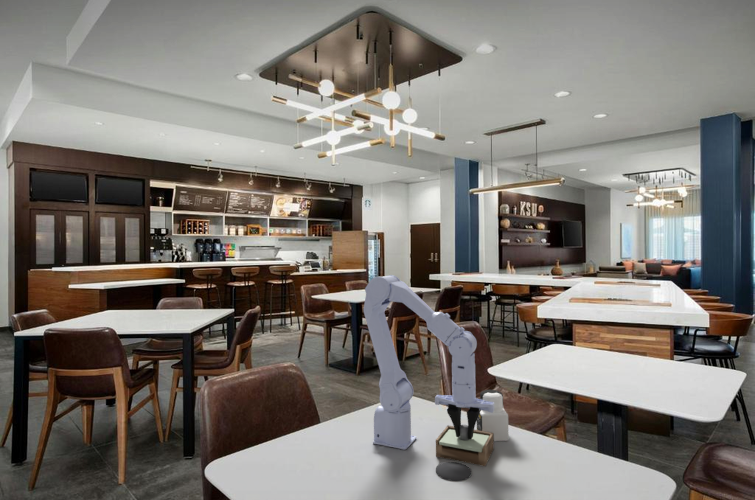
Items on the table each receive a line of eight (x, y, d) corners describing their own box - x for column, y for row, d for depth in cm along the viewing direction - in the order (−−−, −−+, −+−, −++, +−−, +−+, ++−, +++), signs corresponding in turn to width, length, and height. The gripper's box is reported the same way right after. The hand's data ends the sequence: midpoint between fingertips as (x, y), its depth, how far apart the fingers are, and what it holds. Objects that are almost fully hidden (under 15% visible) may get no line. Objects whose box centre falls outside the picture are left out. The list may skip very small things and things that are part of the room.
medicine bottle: (476, 430, 124) (475, 387, 124) (502, 430, 124) (501, 387, 124) (481, 441, 117) (480, 396, 117) (509, 441, 116) (508, 395, 117)
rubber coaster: (430, 476, 99) (430, 474, 99) (441, 460, 106) (441, 459, 106) (466, 483, 95) (466, 481, 95) (475, 467, 103) (475, 465, 103)
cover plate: (449, 431, 116) (449, 417, 116) (489, 438, 111) (489, 423, 111) (439, 444, 108) (438, 429, 108) (481, 452, 104) (481, 436, 104)
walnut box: (447, 440, 117) (447, 425, 117) (493, 449, 112) (493, 432, 112) (435, 456, 108) (435, 439, 108) (485, 466, 103) (484, 448, 103)
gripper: (430, 382, 109) (431, 437, 109) (489, 389, 103) (490, 448, 103) (439, 375, 116) (440, 427, 116) (495, 381, 109) (496, 436, 109)
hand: (464, 436), depth 110 cm, fingers closed on cover plate, 2 cm apart
